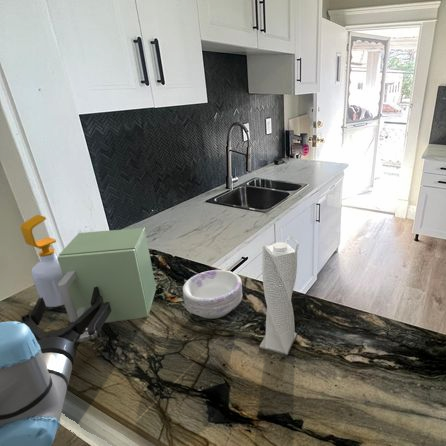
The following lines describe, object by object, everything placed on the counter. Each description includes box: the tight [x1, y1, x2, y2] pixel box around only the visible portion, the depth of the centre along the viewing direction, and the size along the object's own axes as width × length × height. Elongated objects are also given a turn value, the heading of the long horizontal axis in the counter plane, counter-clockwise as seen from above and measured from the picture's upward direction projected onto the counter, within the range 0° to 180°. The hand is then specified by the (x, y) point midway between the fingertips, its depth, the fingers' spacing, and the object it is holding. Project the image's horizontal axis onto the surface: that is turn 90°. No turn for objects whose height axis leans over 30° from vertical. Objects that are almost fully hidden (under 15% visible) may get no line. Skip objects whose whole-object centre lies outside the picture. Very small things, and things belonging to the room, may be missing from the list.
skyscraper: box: [258, 236, 300, 356], centre depth 69 cm, size 8×8×28 cm
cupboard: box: [58, 227, 157, 315], centre depth 83 cm, size 12×16×20 cm
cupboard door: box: [57, 249, 150, 324], centre depth 74 cm, size 7×16×20 cm, turn 104°
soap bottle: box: [20, 214, 65, 308], centre depth 84 cm, size 9×9×25 cm
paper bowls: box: [182, 269, 243, 320], centre depth 85 cm, size 15×15×8 cm
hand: (70, 296), depth 74 cm, fingers open, 10 cm apart
